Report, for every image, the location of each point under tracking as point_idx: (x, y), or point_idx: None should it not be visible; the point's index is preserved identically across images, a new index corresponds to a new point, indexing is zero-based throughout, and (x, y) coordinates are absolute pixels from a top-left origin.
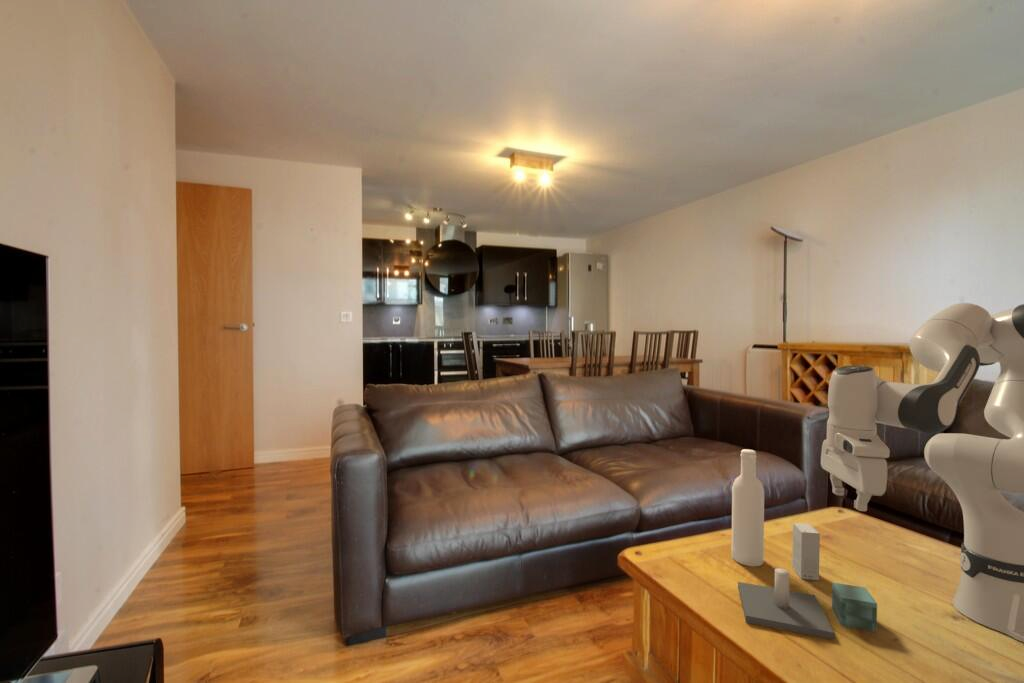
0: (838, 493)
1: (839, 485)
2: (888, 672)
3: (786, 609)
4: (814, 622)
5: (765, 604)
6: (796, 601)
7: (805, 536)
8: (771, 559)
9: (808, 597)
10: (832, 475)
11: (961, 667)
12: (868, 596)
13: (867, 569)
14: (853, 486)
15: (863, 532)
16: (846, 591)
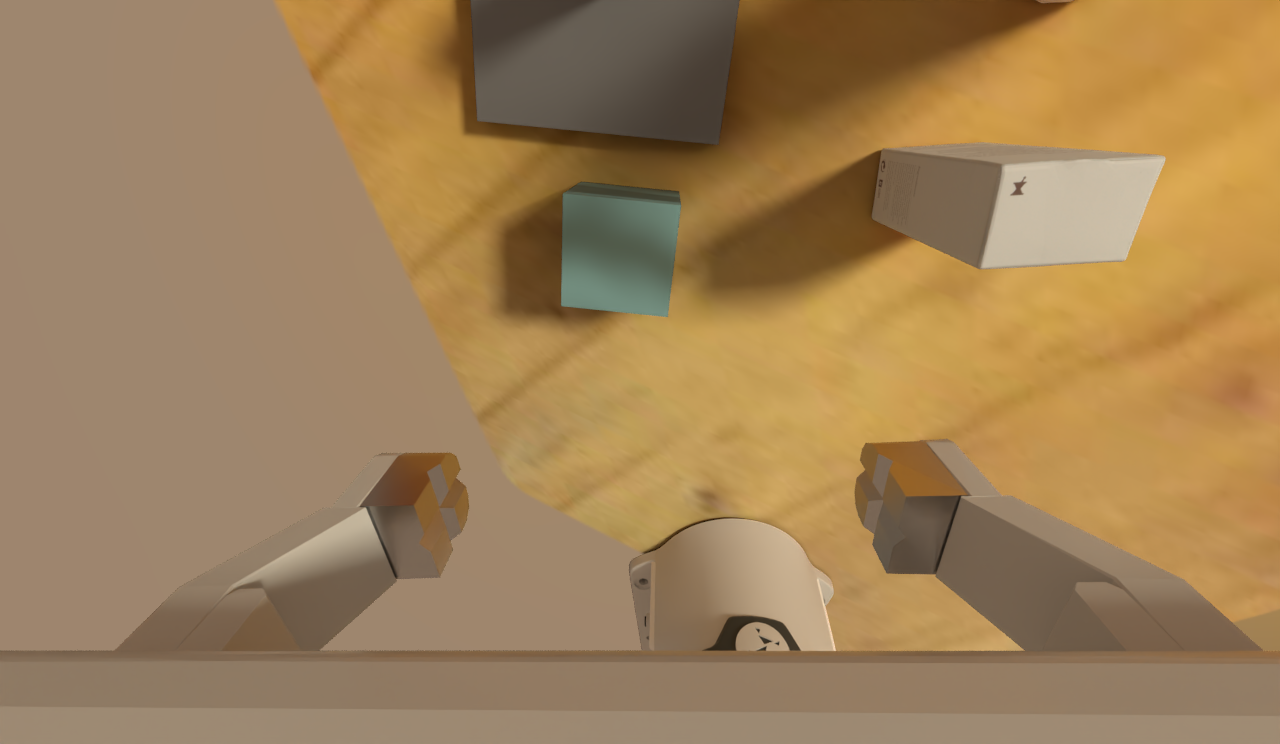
0: (868, 473)
1: (959, 564)
2: (389, 222)
3: None
4: (517, 68)
5: None
6: (648, 42)
7: (982, 183)
8: (1066, 61)
9: (693, 109)
10: (1125, 632)
11: (490, 402)
12: (603, 298)
13: (958, 416)
14: (111, 668)
15: (1239, 523)
16: (617, 232)
